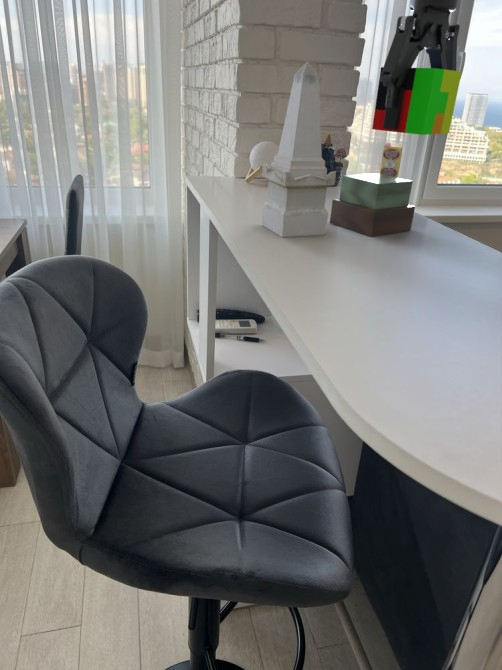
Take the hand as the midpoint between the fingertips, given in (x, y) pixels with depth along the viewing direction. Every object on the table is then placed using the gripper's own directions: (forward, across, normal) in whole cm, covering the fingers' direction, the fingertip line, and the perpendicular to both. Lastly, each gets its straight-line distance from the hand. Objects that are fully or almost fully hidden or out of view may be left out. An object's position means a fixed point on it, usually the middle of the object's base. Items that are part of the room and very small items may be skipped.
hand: (410, 128), depth 92 cm
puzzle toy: (+1, 0, 0) cm, 1 cm away
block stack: (+20, -2, -8) cm, 22 cm away
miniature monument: (+20, +15, -13) cm, 28 cm away
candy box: (+20, -15, -16) cm, 30 cm away
